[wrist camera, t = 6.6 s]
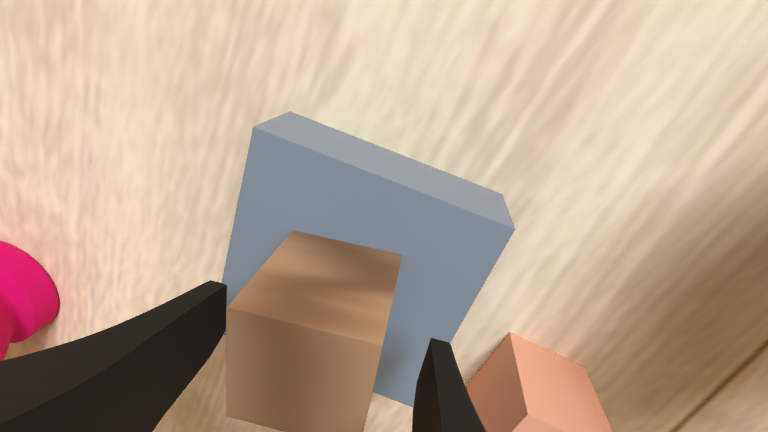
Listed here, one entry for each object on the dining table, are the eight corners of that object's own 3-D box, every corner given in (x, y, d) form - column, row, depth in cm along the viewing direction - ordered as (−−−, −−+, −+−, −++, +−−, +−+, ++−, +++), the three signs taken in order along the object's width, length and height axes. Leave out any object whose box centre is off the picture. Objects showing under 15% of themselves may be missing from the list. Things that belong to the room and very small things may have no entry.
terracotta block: (584, 366, 20) (624, 459, 16) (536, 417, 22) (559, 513, 17) (509, 331, 20) (527, 414, 15) (467, 385, 22) (472, 473, 17)
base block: (501, 191, 18) (515, 228, 14) (418, 347, 22) (413, 407, 18) (293, 110, 17) (253, 126, 14) (251, 282, 22) (212, 329, 18)
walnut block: (402, 255, 15) (382, 345, 10) (383, 341, 17) (358, 450, 12) (292, 230, 15) (227, 307, 11) (285, 318, 17) (226, 416, 13)
